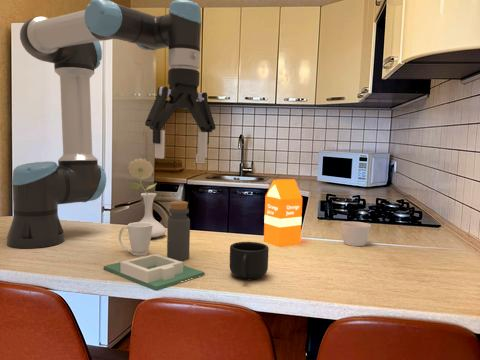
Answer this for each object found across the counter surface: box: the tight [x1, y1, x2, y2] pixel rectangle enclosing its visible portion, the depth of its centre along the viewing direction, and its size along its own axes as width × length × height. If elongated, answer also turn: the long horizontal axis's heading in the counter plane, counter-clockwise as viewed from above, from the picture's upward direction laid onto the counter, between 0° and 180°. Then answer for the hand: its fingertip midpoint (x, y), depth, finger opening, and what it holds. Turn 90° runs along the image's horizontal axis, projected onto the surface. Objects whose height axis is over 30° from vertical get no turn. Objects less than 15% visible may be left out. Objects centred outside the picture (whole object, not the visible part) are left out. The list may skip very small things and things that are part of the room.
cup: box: [118, 221, 153, 256], centre depth 115 cm, size 7×10×8 cm
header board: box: [103, 253, 205, 291], centre depth 99 cm, size 20×14×3 cm
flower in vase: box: [127, 158, 167, 239], centre depth 134 cm, size 13×11×25 cm
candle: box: [341, 221, 372, 247], centre depth 133 cm, size 9×9×6 cm
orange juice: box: [263, 178, 303, 248], centre depth 131 cm, size 8×9×20 cm
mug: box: [229, 241, 270, 280], centre depth 97 cm, size 12×9×7 cm
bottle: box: [166, 200, 191, 262], centre depth 110 cm, size 6×6×15 cm
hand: (181, 158), depth 103 cm, fingers open, 13 cm apart
